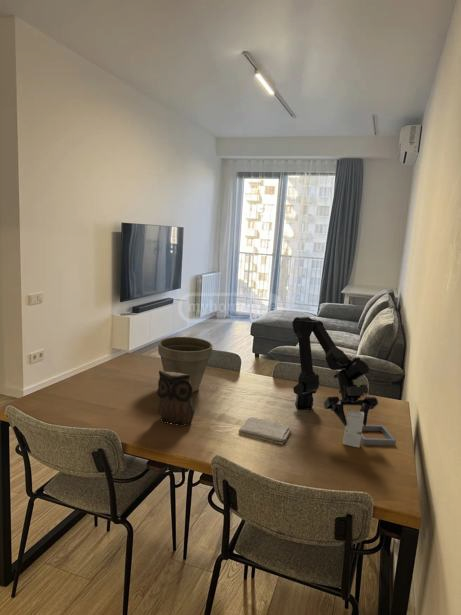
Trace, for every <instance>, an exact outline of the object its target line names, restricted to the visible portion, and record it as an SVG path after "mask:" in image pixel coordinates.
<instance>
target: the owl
mask: <svg viewBox="0 0 461 615" xmlns="http://www.w3.org/2000/svg"><path fill="white" fill-rule="evenodd" d="M158 374H159V379H158V382H157V386H158V388H157V396H158V399H159V401H158V409H157V411H158V413H159V415H160V419H162V421H163V422H166V423H167V422H168V423H172V424H178V425H184V424H191V423H193V419H194V415H195V408H194V403H193V400H192V397H193V393H194V392H193V390H192V386H191V382H190V379H189V378H190V375H187V374H182V373H176V372H164V370H163V371H162V370H159V371H158ZM163 422H162V423H163ZM191 425H192V424H191ZM184 426H185V425H184Z"/></svg>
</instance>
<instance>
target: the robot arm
mask: <svg viewBox="0 0 461 615" xmlns="http://www.w3.org/2000/svg"><path fill="white" fill-rule="evenodd" d="M292 328H293V333H294V334H295V335H296V337H297V339H298V340H297V341H298V349H299V352H298V353H299V361H300V374H299V376H298V380H297V381H298V382H297V384H296V385H295V386H294V387H293V388H292V389H293V394H296V399H295V402H294V404H295V406H296V408H297V410H313V406H314V394H316V393H317V391H318V389H319V387H320V379H319V378H320V376H319V374H316V372H315V371H314V365H313V356H312V355H313V354H312V344H311V335H312V333H313V335H314V337H315V338H316V339H317V341H318V343H319V344H320V347H321V348H322V350H323V352H324V353H325V361H326V363H327V366H328V368H329V369H330V370H331V371H336V373H335V374H334V375H333V378H334V379H337V381H338V386H339V390H338V392H339V394H340V397H341V399H340V397H338V396H328V397H327V398H326V399H325V401H324V404H323V406H324V409H325V410H330V411H331V412H334V414H335V415H336V416H337V417H338V418H339V420H340V421H341V423H342V425H343V426H344V427H345V426H347V423H346V415H345V410H344V406H360V409H359V411H361V412H364V421H363V425H364V426H366V425H367V424H368V423H367V421H368V420H367V419H368V414H369V411H370V410H373V409H374V408H376V407H377V405H379V401H378V398H377V397H375V396H365V394H369V388H368V384H360V385H359V386H358V385H357V384H355V381H358V380H359V379H361V378H362V377H364V376H365V375H368V373H369V372H370V370H369V365H368V364H367V363H366V362H364V360H361V358H360V357H354V358H353V359H350V358H349V357H348V356H347V354H346V353H345V352H344V351H343V350H342V349H340V348H339V347H337V345H336V344H335V343H334V341H333V339H332V337H331V336H330V334H329V333H328V331H327V329H326V328H325V326H324V323H323V321H322V320H319V319H314V318H313V319H312V318H311V317H310V316H299V317H298V316H297V317H294V319H293V320H292ZM338 370H339V371H338ZM364 396H365V397H364ZM362 397H364V399H360V398H362Z"/></svg>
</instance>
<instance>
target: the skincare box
mask: <svg viewBox="0 0 461 615" xmlns="http://www.w3.org/2000/svg"><path fill="white" fill-rule="evenodd" d="M345 418H346V423H347V426H344V433H343V437H342V438H343V439H342V445H345V446H349V447H354V448H360V447H361V434H363V433H362V432H363V431H362V427H363V425H364V424H363V421H364V412H361V411H360V410H357V409H356V410H355V409H350V408H347V410H346V415H345Z"/></svg>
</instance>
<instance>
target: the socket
mask: <svg viewBox="0 0 461 615" xmlns="http://www.w3.org/2000/svg"><path fill="white" fill-rule="evenodd" d="M363 431H366V432H367V431H368V432H369V431H370V432H380V433H382V435H383V436H384V438H378V437H377V438H374V437H373V438H372V437H371V438H370V437H369V438H368V437H365V436H364V434H363V433H362V434H361V441H360V443H361V444H362V445H371V446H372V445H373V446H396V444H397V443H396V442H397V440H396V439H395V437H393V435H392V434H391V433H390V431H389V430H388V429H387V428H386V427H385V426H384V425H383V424H380V425H379V424H366V426H364V424H363V427H362V432H363Z"/></svg>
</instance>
